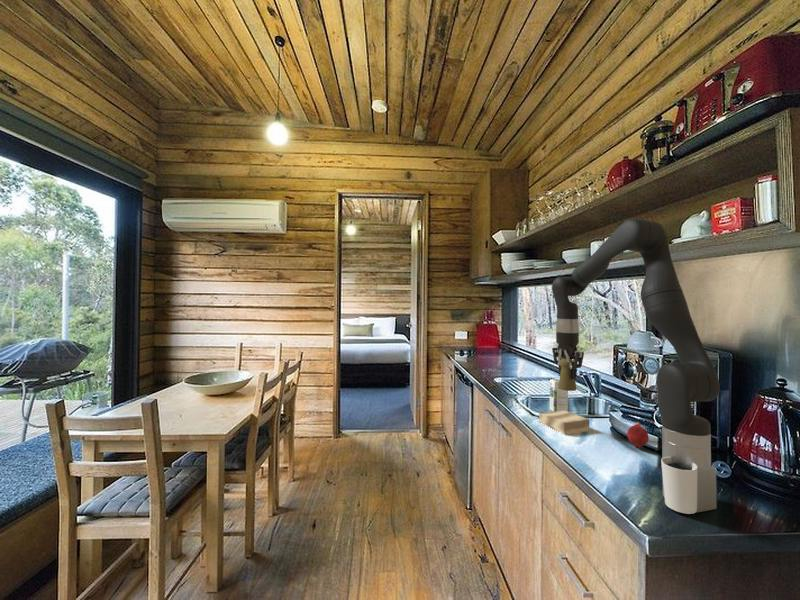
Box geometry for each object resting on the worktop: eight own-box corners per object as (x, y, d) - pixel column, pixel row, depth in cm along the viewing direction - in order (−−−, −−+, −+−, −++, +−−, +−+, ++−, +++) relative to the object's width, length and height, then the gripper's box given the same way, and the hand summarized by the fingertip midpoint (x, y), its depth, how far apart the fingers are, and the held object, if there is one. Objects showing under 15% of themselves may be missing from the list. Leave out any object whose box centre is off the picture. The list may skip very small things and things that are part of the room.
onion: (644, 452, 110) (644, 426, 110) (624, 446, 115) (624, 422, 115) (651, 448, 114) (651, 423, 114) (631, 442, 118) (631, 418, 119)
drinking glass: (655, 501, 84) (654, 460, 83) (675, 495, 86) (673, 454, 85) (686, 518, 77) (684, 473, 77) (706, 510, 79) (704, 466, 79)
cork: (572, 387, 132) (572, 357, 132) (579, 391, 126) (579, 360, 126) (555, 386, 132) (556, 357, 132) (561, 390, 126) (561, 359, 126)
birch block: (589, 433, 128) (589, 419, 128) (564, 437, 124) (564, 422, 124) (563, 422, 140) (563, 410, 140) (539, 426, 135) (539, 413, 135)
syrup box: (549, 412, 152) (548, 378, 152) (562, 412, 152) (562, 379, 152) (554, 416, 146) (554, 381, 146) (568, 417, 146) (568, 381, 146)
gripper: (591, 332, 123) (590, 381, 123) (562, 329, 137) (562, 373, 137) (573, 332, 121) (572, 382, 121) (545, 329, 135) (545, 374, 135)
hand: (567, 377), depth 129 cm, fingers closed on cork, 4 cm apart
